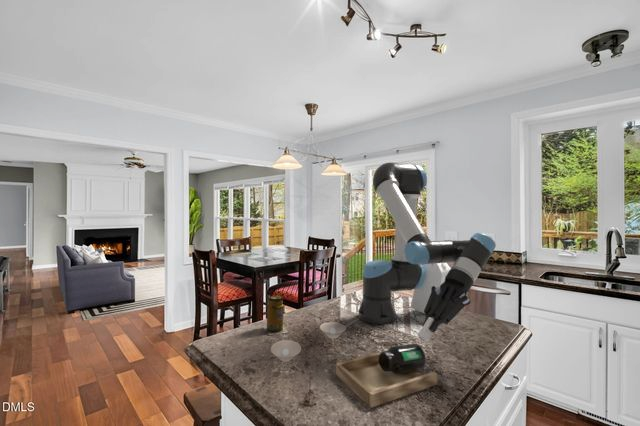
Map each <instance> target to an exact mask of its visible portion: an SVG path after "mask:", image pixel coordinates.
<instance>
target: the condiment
mask: <svg viewBox="0 0 640 426" xmlns="http://www.w3.org/2000/svg"><path fill="white" fill-rule="evenodd" d="M283 303H284V301H283V297H282V296H280V295H271V296H269V297H268V303H267V305H266V308H267V309H266V326H262V328H263V329H264V331H265V333H267V334H268V335H269V336H274V335H282V334H286V333H287V334H288V333H289V331H288V330H287V329H286V328H285V327H284V310H285V309H284V304H283Z"/></svg>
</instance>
